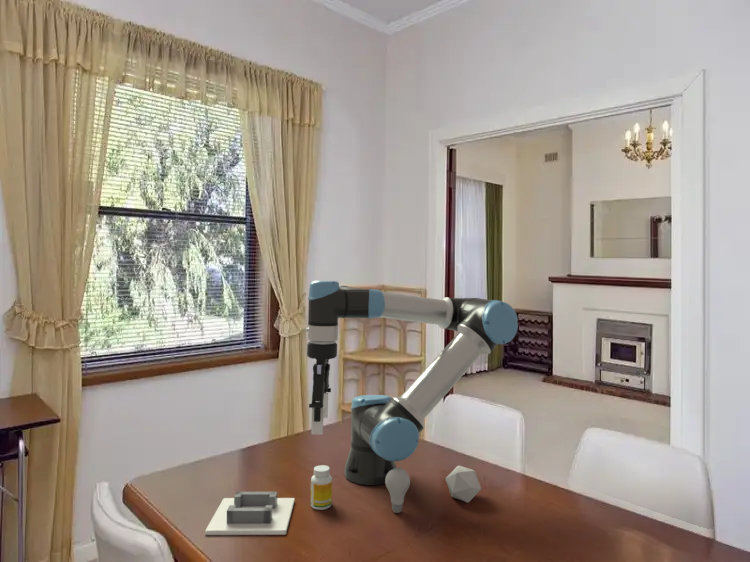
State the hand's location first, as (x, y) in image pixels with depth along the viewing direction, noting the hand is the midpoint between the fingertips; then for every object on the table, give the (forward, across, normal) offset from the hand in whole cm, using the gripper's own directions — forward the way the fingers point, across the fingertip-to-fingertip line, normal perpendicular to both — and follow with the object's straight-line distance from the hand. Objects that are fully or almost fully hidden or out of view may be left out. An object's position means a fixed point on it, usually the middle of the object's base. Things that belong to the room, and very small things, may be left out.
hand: (319, 425), depth 130 cm
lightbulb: (+20, +4, +20) cm, 29 cm away
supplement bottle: (+20, 0, +1) cm, 21 cm away
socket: (+21, +7, -15) cm, 26 cm away
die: (+20, -5, +38) cm, 43 cm away
